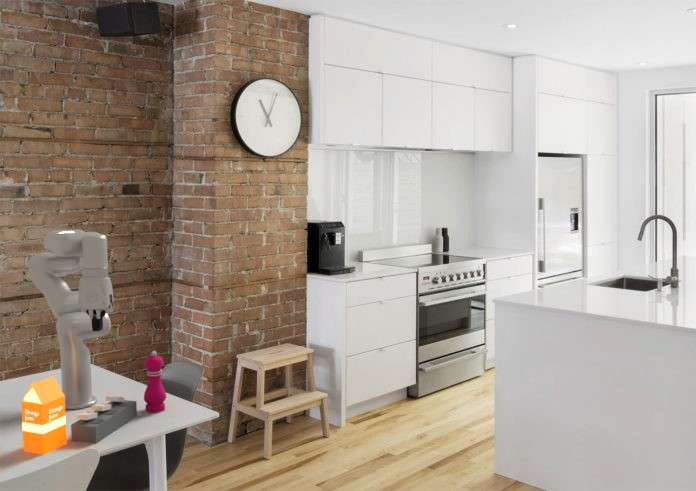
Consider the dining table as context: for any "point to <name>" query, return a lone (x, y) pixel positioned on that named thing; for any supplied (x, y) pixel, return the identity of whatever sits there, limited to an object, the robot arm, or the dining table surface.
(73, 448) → the dining table surface
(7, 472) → the dining table surface
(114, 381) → the dining table surface
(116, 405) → the power strip
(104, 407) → the block
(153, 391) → the pepper mill
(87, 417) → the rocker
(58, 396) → the orange juice
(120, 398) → the plate
